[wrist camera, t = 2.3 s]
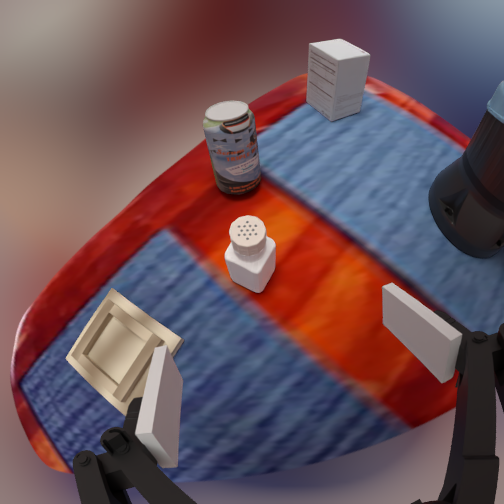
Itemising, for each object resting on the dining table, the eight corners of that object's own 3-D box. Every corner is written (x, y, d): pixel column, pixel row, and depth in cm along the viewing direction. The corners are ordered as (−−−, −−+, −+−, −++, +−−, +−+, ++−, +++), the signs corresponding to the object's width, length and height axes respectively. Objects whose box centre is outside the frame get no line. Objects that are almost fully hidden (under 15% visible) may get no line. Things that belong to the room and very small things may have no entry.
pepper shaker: (229, 281, 34) (215, 239, 26) (247, 253, 36) (239, 205, 27) (260, 296, 33) (256, 258, 25) (277, 267, 34) (278, 221, 26)
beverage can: (227, 208, 39) (213, 138, 28) (208, 172, 42) (191, 105, 31) (270, 190, 40) (269, 119, 29) (247, 157, 43) (240, 89, 32)
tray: (184, 340, 31) (178, 335, 29) (133, 418, 27) (123, 418, 25) (116, 291, 34) (107, 284, 32) (70, 360, 30) (59, 356, 28)
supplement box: (334, 93, 51) (341, 37, 39) (360, 113, 47) (372, 54, 36) (304, 102, 49) (307, 42, 38) (330, 123, 46) (339, 59, 35)
